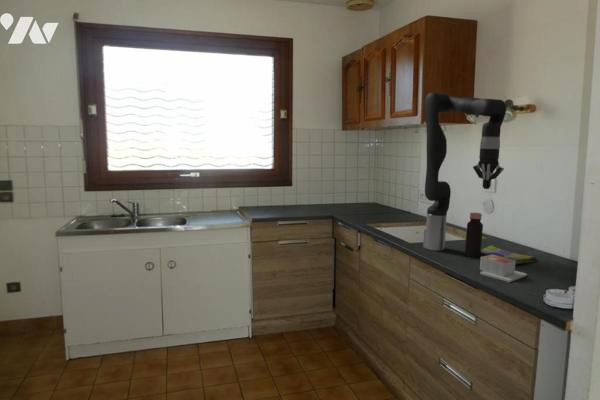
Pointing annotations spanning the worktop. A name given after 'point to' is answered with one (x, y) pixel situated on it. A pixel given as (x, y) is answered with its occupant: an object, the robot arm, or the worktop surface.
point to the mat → (506, 278)
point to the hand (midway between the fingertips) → (486, 188)
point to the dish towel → (507, 255)
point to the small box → (497, 265)
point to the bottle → (474, 236)
